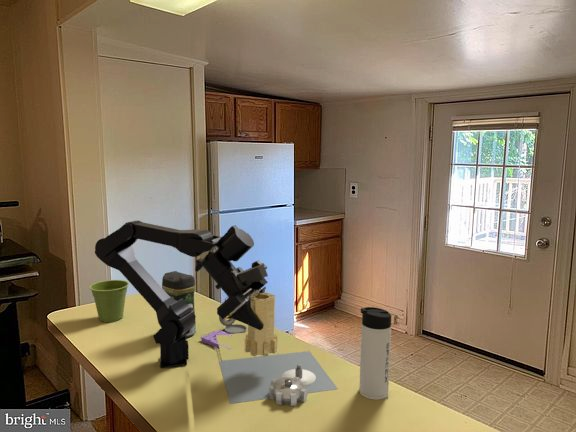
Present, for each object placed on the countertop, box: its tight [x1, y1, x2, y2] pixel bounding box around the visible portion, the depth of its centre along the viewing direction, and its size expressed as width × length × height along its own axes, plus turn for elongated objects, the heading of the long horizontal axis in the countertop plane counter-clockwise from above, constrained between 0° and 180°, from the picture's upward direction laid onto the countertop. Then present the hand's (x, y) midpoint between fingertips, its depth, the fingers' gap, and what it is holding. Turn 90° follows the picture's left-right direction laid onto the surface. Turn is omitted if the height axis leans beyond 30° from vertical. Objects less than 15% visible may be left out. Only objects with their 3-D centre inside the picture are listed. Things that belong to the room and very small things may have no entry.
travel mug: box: [358, 306, 392, 401], centre depth 94 cm, size 6×7×20 cm
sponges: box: [200, 329, 234, 350], centre depth 122 cm, size 7×13×2 cm, turn 50°
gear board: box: [218, 350, 339, 405], centre depth 102 cm, size 24×20×4 cm
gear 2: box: [269, 376, 308, 407], centre depth 93 cm, size 8×8×3 cm
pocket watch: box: [218, 296, 248, 335], centre depth 131 cm, size 8×8×10 cm
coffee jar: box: [161, 270, 197, 339], centre depth 127 cm, size 10×8×19 cm
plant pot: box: [89, 279, 130, 323], centre depth 139 cm, size 12×12×11 cm
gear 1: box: [243, 292, 278, 357], centre depth 102 cm, size 8×8×13 cm
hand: (266, 323), depth 102 cm, fingers closed on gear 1, 6 cm apart
